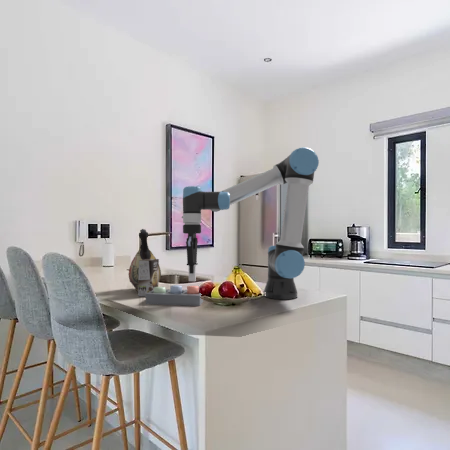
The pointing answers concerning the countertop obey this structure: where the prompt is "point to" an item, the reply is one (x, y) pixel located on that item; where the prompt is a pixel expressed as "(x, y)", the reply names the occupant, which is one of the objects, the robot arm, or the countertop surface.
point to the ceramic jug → (141, 255)
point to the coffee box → (147, 276)
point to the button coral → (192, 289)
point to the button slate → (176, 289)
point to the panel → (173, 298)
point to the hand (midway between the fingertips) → (192, 280)
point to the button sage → (159, 289)
